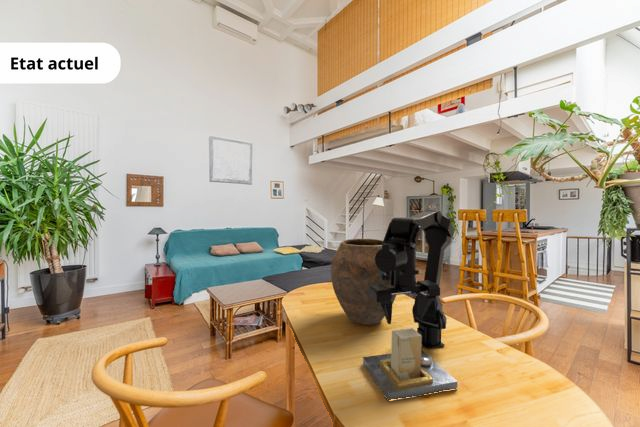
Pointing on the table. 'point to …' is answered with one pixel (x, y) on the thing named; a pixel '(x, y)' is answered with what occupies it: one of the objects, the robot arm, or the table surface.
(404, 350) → the skincare box
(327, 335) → the table surface
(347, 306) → the vase
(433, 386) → the grey slotted board
